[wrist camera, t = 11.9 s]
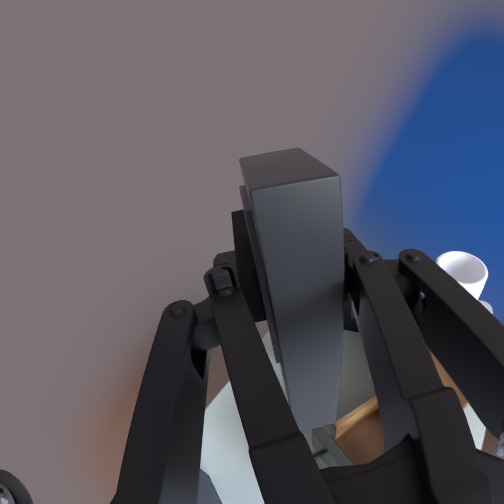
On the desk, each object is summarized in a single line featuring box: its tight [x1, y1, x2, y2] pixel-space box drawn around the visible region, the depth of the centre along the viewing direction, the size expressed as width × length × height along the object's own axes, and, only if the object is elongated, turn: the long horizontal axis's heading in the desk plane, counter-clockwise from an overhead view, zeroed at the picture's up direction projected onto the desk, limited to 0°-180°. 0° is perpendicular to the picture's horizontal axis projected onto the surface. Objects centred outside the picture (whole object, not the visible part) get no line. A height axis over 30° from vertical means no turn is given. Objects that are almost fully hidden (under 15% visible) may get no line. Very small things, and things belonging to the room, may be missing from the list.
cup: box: [436, 251, 488, 300], centre depth 40 cm, size 10×10×13 cm
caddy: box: [197, 469, 222, 504], centre depth 23 cm, size 6×8×12 cm
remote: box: [239, 148, 344, 432], centre depth 14 cm, size 3×5×16 cm, turn 6°
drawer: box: [312, 395, 384, 467], centre depth 27 cm, size 19×10×6 cm, turn 115°
